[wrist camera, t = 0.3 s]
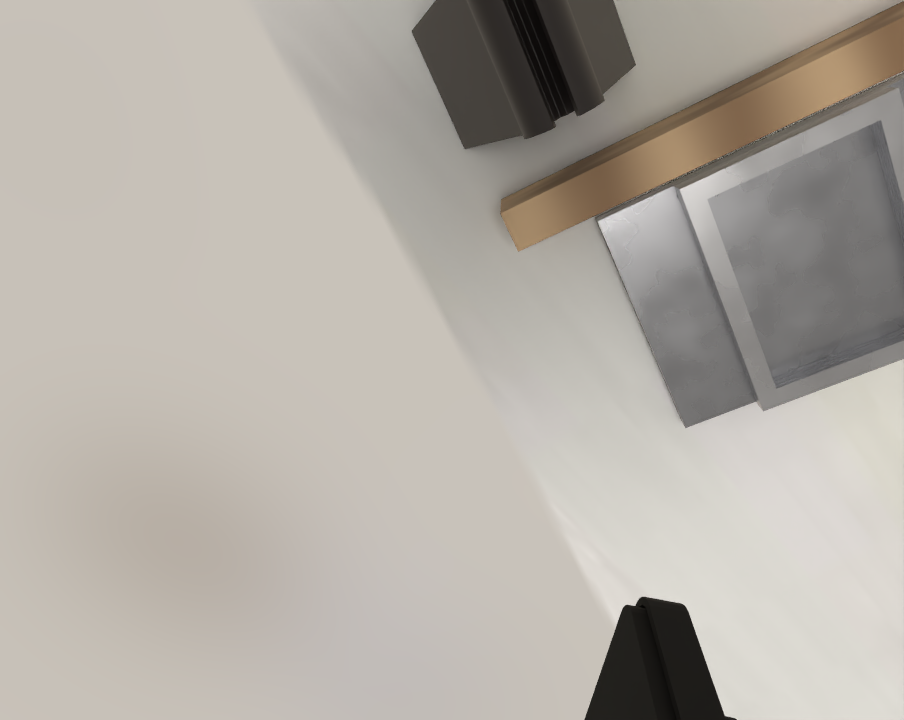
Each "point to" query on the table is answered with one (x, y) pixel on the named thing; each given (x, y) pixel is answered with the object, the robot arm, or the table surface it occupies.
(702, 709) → the robot arm
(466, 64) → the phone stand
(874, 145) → the keeper plate
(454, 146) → the table surface
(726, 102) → the door edge rail
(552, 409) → the table surface
